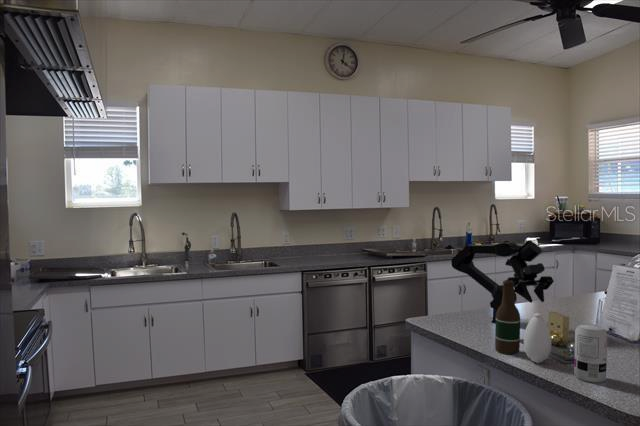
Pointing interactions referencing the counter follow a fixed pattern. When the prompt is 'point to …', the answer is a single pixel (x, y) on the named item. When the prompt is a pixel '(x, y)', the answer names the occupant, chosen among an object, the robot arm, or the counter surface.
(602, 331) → the supplement can
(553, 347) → the rubber mat
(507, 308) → the beer bottle
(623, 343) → the counter surface
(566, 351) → the gunmetal leaf
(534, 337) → the sauce bottle
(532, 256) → the robot arm
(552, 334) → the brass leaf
